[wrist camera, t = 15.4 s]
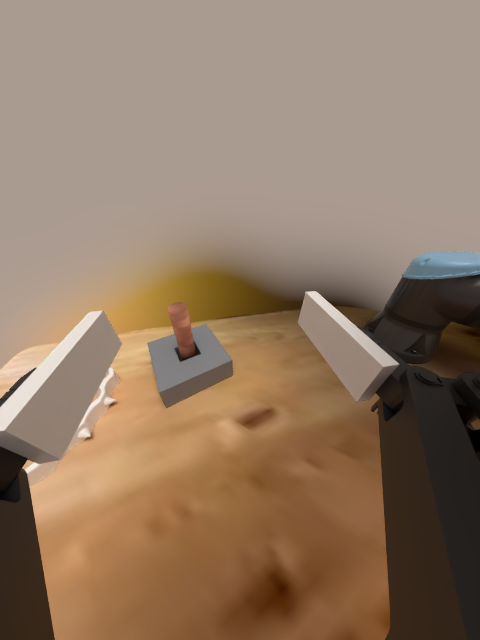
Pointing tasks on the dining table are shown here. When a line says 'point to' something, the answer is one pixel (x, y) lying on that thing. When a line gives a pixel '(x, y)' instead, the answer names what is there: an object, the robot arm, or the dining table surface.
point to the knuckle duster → (81, 425)
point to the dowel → (182, 330)
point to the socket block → (188, 365)
